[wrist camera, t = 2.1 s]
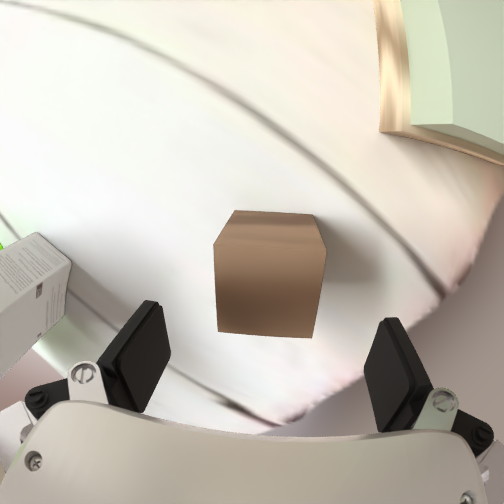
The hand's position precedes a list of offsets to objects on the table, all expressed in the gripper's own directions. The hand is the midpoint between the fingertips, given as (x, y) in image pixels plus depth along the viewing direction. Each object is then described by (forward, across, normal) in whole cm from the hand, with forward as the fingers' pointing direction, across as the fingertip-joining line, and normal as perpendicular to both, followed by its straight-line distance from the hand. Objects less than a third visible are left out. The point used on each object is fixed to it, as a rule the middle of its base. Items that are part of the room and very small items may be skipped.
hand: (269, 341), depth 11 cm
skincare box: (+8, +22, +3) cm, 24 cm away
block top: (+5, -12, -15) cm, 19 cm away
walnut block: (+8, 0, -1) cm, 8 cm away
